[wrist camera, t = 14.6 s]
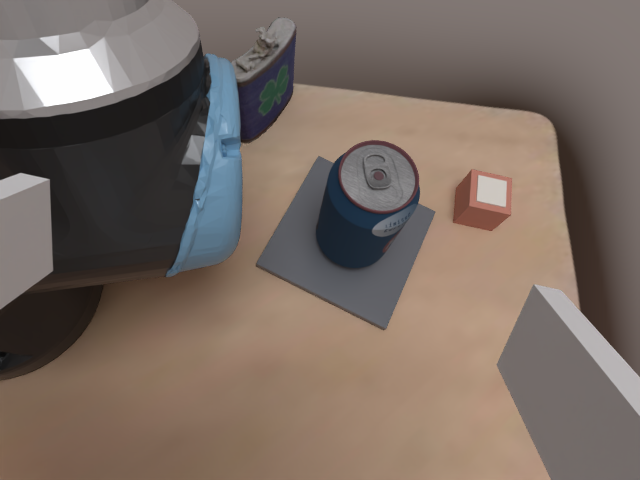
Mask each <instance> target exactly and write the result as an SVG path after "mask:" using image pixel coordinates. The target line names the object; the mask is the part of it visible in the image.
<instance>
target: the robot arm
mask: <svg viewBox="0 0 640 480" xmlns="http://www.w3.org/2000/svg"><path fill="white" fill-rule="evenodd" d="M240 127H241V123H240V108H239V96H238V87H237V80H236V75H235V71H234V67H233V65H232V64H231V62H230V61H228V60H227V59H224V58H218V57H217V56H215V55H214V54H212V55H211V54H205V56H204V57H203V52H202V46H201V41H200V34H199V29H198V26H197V24H196V22H195V20H194V19H193V17H192V16H191V15H190V14H189V13H188V12H186V11H185V10H184V9H182V8H181V7H180V6H179V5H178V4H176V3H175V2H174V1H173V0H0V380H4V379H9V378H13V377H17V376H20V375H24V374H26V373H29V372H31V371H34V370H36V369H38V368H40V367H42V366H44V365H46V364H47V363H49V362H50V361H52V360H54V359H55V358H56V357H58V356H59V355H60V354H62V353H63V352H64V351H65V350H66V349H68V348H69V347H70V346H71V345H72V344H73V343H74V342H75V341H76V340H77V338H78V337H79V336H80V335H81V334H82V332H83V331H84V330H85V328H86V327H87V325H88V324H89V322H90V320H91V319H92V317H93V315H94V313H95V311H96V308H97V306H98V303H99V300H100V296H101V292H102V286H103V284H109V283H116V282H124V281H132V280H140V279H148V278H155V277H163V276H164V277H172V276H174V275H176V274H177V273H178V272H183V271H187V270H192V269H197V268H202V267H207V266H211V265H216V264H219V263H221V262H223V261H224V260H226V259H227V258H229V257H230V256H231V254H232V253H233V252H234V250H235V249H236V247H237V244H238V241H239V237H240V230H241V219H242V159H241V153H240V150H239V149H240V146H241V140H240ZM497 367H498V369H499V371H500V373H501V375H502V377H503V379H504V381H505V384H506V386H507V388H508V390H509V392H510V394H511V396H512V398H513V400H514V402H515V405H516V407H517V409H518V411H519V413H520V415H521V417H522V419H523V421H524V423H525V426H526V428H527V430H528V432H529V434H530V436H531V438H532V440H533V442H534V444H535V447H536V449H537V451H538V453H539V455H540V457H541V459H542V461H543V463H544V466H545V468H546V470H547V472H548V474H549V476H550V478H551V480H640V377H639V376H638V375H637V374H636V373H635V372H634V371H633V370H632V368H631V367H630V366H629V365H628V364H627V363H626V362H625V361H624V360H623V358H622V357H621V356H620V355H619V354H618V353H617V352H616V351H615V350H614V348H613V347H612V346H611V345H610V344H609V343H608V342H607V341H606V340H605V338H604V337H603V336H602V335H601V334H600V333H599V332H598V331H597V330H596V328H595V327H594V326H593V325H592V324H591V323H590V322H589V321H588V320H587V318H586V317H585V316H584V315H583V314H582V313H581V312H580V311H579V310H578V308H577V307H576V306H575V305H574V304H573V303H572V302H571V301H570V300H569V298H568V297H567V296H566V295H565V294H564V293H563V292H562V291H561V290H558V289H553V288H549V287H544V286H540V285H535V284H533V287H532V289H531V291H530V293H529V295H528V297H527V300H526V302H525V304H524V306H523V308H522V311H521V313H520V315H519V317H518V319H517V321H516V324H515V326H514V328H513V330H512V332H511V335H510V337H509V339H508V341H507V343H506V345H505V348H504V350H503V352H502V354H501V356H500V359H499V361H498V363H497Z"/></svg>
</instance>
